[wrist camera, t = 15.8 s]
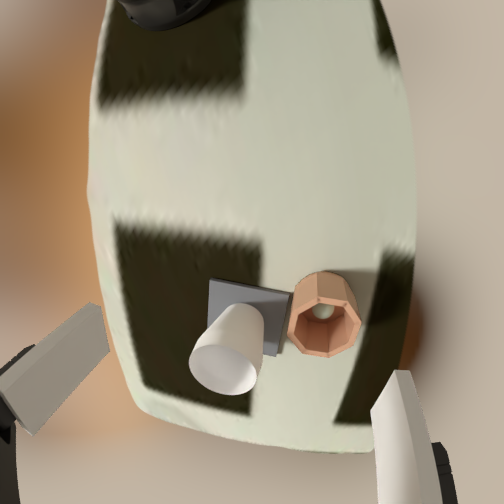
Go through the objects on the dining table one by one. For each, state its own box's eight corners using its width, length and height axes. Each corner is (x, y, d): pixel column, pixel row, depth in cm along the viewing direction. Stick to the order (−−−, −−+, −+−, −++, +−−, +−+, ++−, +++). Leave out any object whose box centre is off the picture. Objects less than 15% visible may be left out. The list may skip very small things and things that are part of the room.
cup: (283, 329, 42) (272, 383, 31) (238, 350, 45) (218, 402, 34) (248, 285, 41) (226, 332, 30) (204, 311, 44) (174, 357, 33)
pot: (299, 266, 39) (296, 292, 32) (358, 276, 38) (368, 304, 31) (288, 318, 42) (283, 350, 35) (342, 327, 41) (347, 360, 34)
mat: (211, 277, 43) (209, 279, 42) (289, 292, 41) (289, 295, 40) (208, 338, 47) (207, 341, 46) (276, 353, 45) (276, 356, 44)
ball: (314, 290, 39) (314, 301, 36) (335, 294, 39) (337, 305, 36) (309, 309, 40) (309, 321, 37) (330, 312, 40) (331, 324, 37)
